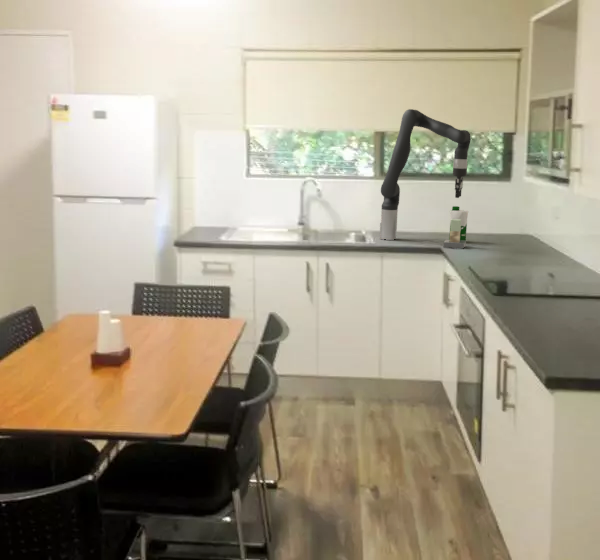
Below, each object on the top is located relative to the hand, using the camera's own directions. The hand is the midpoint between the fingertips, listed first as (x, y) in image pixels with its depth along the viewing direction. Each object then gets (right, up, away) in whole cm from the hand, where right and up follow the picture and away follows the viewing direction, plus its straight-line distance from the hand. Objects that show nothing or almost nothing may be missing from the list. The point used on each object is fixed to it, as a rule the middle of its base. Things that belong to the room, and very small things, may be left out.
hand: (458, 197), depth 462 cm
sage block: (-1, -18, +1) cm, 18 cm away
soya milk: (+4, -24, +21) cm, 32 cm away
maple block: (-2, -24, +2) cm, 24 cm away
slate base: (-2, -27, +2) cm, 27 cm away
